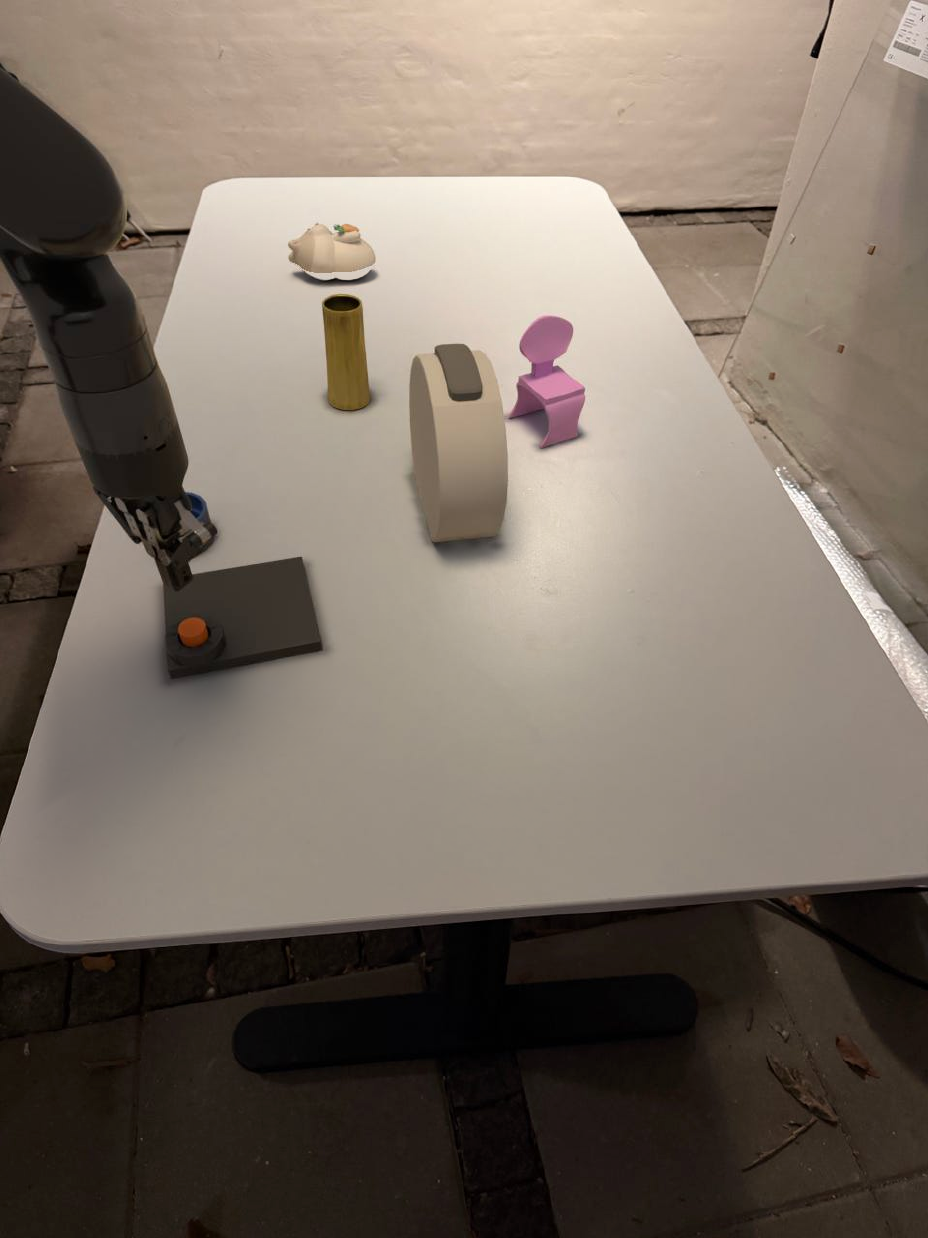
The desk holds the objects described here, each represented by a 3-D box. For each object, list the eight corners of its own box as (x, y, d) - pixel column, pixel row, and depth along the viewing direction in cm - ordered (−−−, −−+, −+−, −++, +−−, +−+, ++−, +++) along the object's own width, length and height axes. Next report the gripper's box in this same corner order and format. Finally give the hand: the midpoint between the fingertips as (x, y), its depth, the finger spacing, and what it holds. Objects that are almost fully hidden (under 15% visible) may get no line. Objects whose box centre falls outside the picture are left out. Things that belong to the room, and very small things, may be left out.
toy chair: (536, 452, 104) (550, 349, 93) (501, 419, 109) (510, 317, 98) (585, 436, 108) (604, 334, 96) (549, 404, 112) (563, 304, 101)
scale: (171, 680, 76) (163, 661, 74) (165, 587, 85) (159, 568, 83) (322, 651, 80) (319, 632, 77) (303, 565, 88) (300, 545, 86)
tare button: (182, 649, 76) (178, 639, 75) (180, 630, 77) (177, 619, 76) (209, 644, 76) (206, 634, 75) (207, 625, 78) (204, 615, 77)
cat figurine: (377, 218, 132) (287, 209, 128) (379, 260, 130) (288, 252, 127) (371, 255, 141) (287, 247, 137) (373, 294, 139) (288, 287, 136)
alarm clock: (501, 558, 90) (517, 410, 76) (438, 565, 89) (441, 416, 74) (464, 450, 104) (471, 308, 89) (409, 455, 103) (407, 311, 88)
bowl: (157, 562, 87) (147, 532, 84) (156, 526, 91) (146, 496, 88) (216, 553, 89) (208, 523, 85) (212, 517, 93) (204, 488, 90)
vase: (371, 410, 110) (366, 313, 99) (328, 412, 109) (318, 314, 98) (369, 387, 114) (364, 291, 103) (327, 388, 113) (317, 292, 102)
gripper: (24, 414, 58) (97, 577, 71) (144, 478, 54) (199, 640, 67) (106, 372, 63) (161, 533, 76) (223, 428, 58) (261, 589, 71)
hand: (179, 583), depth 71 cm, fingers closed
